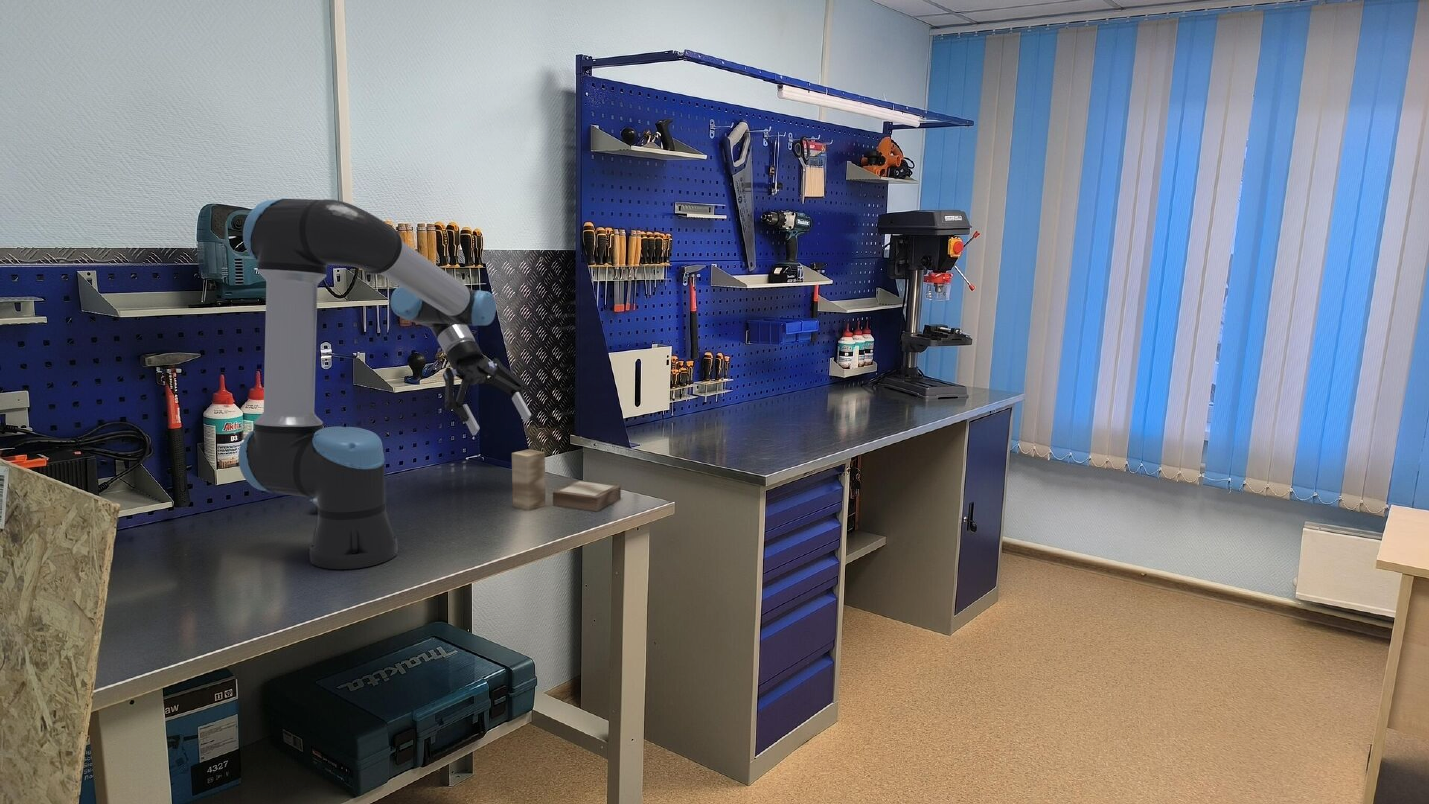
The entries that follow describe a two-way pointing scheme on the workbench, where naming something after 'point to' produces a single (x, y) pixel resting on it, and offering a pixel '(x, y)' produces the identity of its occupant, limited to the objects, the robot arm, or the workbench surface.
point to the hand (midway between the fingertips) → (502, 425)
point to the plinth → (586, 495)
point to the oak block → (528, 479)
